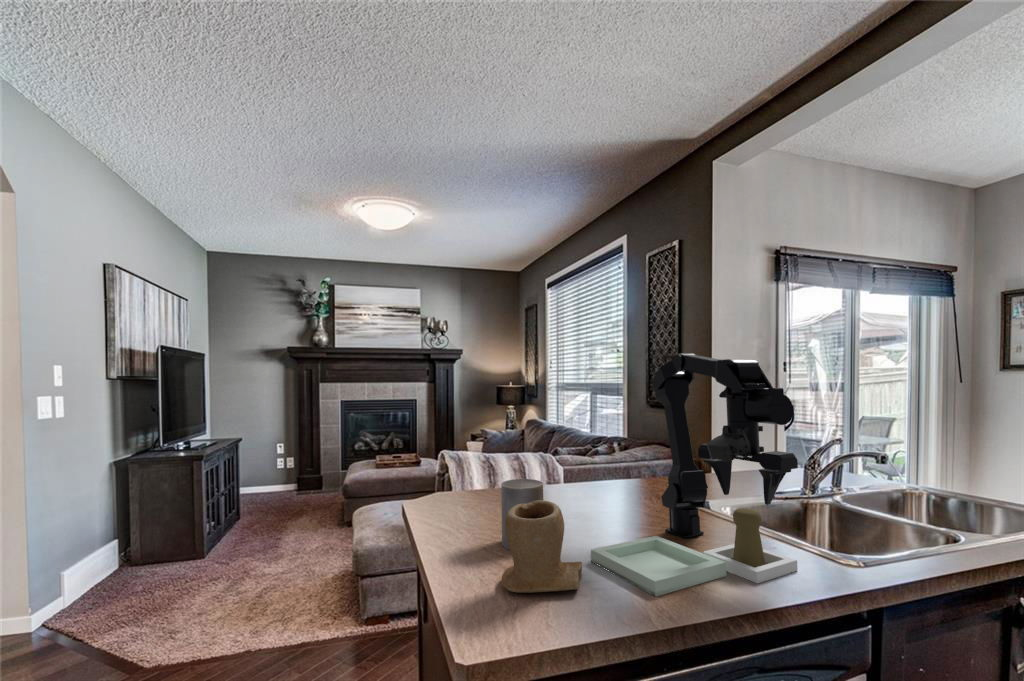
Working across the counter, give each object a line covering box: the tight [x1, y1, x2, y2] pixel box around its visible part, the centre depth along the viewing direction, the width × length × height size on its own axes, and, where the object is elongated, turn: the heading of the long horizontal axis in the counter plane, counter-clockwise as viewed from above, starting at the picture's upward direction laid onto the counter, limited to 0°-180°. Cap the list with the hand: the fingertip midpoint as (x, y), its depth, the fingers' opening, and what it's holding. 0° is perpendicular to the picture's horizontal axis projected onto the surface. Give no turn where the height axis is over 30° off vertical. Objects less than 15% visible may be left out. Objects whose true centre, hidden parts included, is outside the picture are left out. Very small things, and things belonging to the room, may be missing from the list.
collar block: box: [702, 543, 798, 584], centre depth 96 cm, size 12×12×2 cm
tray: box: [590, 535, 727, 597], centre depth 95 cm, size 18×18×2 cm
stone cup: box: [501, 500, 583, 594], centre depth 87 cm, size 15×12×15 cm
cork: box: [732, 507, 767, 568], centre depth 96 cm, size 6×6×11 cm
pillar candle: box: [500, 477, 545, 551], centre depth 110 cm, size 10×10×15 cm
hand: (746, 499), depth 97 cm, fingers open, 9 cm apart
